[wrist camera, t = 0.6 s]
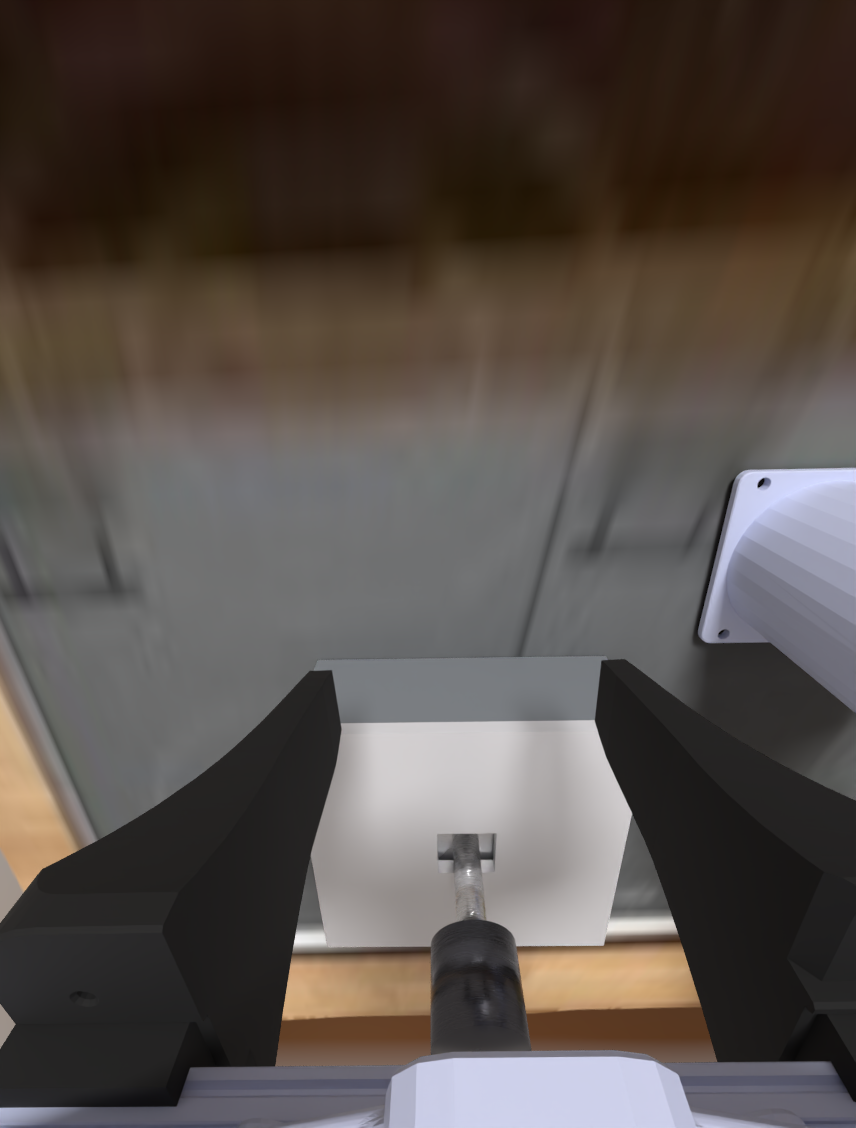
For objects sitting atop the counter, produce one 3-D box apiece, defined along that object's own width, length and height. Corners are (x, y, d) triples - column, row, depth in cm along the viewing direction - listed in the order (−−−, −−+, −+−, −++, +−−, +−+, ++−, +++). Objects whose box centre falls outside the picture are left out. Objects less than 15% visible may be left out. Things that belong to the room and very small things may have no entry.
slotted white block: (605, 655, 23) (649, 730, 18) (575, 850, 28) (603, 945, 24) (317, 659, 23) (289, 734, 18) (344, 852, 28) (327, 947, 24)
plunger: (595, 736, 20) (689, 950, 13) (569, 899, 24) (628, 1129, 17) (337, 739, 20) (284, 952, 13) (358, 901, 24) (327, 1128, 17)
